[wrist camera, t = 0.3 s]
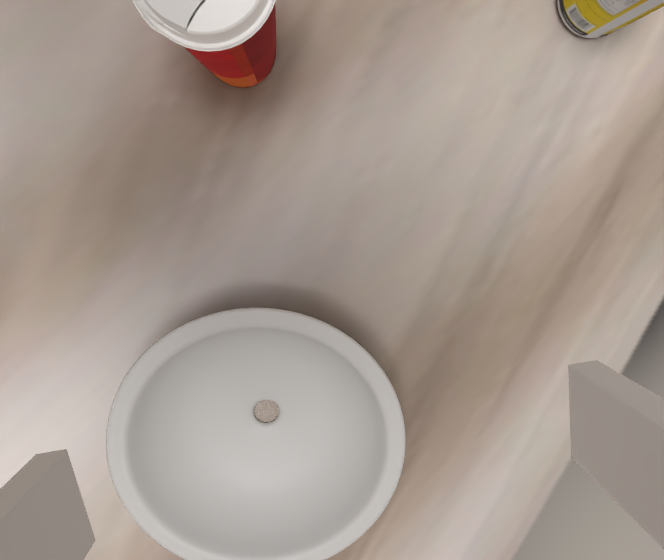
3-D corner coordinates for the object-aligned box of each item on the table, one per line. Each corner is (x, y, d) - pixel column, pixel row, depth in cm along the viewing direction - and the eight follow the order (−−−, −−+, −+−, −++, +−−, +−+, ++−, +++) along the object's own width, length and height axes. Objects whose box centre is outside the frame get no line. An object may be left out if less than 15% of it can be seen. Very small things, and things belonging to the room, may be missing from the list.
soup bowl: (168, 256, 37) (139, 270, 30) (423, 327, 40) (446, 353, 33) (115, 490, 41) (79, 546, 35) (348, 538, 44) (356, 598, 37)
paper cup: (259, -22, 33) (226, -174, 19) (306, 74, 34) (306, -4, 21) (171, 27, 33) (77, -89, 19) (222, 119, 35) (168, 72, 21)
